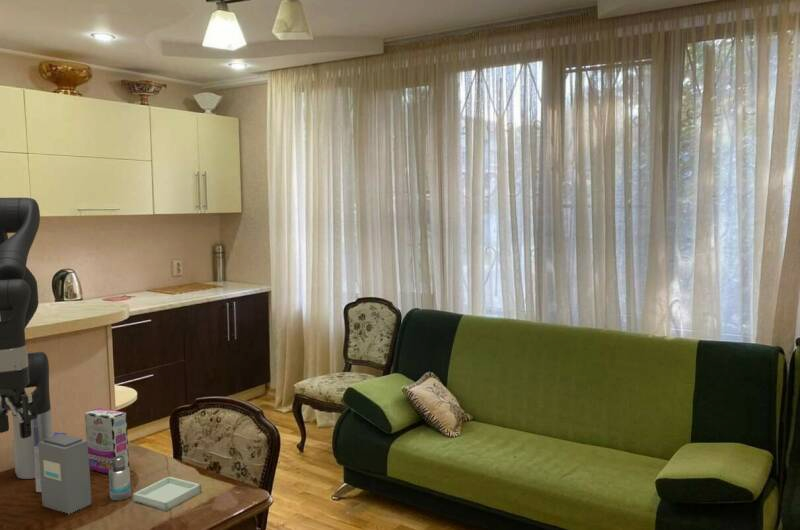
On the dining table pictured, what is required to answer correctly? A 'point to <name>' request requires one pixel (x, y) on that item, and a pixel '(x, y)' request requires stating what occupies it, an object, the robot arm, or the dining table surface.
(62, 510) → the gray storage container
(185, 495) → the tray
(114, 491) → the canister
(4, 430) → the robot arm
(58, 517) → the dining table surface
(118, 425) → the candy bar box
